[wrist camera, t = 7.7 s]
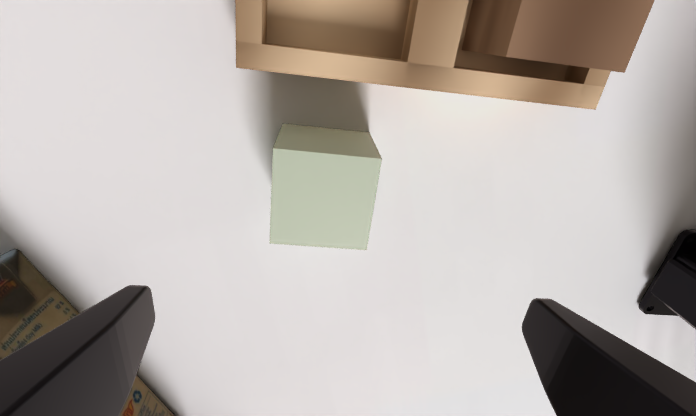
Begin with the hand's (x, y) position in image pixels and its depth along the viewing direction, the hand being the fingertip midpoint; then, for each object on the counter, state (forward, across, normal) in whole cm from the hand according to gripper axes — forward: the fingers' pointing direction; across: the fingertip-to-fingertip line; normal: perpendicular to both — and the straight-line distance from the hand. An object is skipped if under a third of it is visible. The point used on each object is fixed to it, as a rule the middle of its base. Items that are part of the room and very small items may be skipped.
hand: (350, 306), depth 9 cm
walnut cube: (+11, -8, -8) cm, 16 cm away
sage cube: (+12, 0, +1) cm, 12 cm away
